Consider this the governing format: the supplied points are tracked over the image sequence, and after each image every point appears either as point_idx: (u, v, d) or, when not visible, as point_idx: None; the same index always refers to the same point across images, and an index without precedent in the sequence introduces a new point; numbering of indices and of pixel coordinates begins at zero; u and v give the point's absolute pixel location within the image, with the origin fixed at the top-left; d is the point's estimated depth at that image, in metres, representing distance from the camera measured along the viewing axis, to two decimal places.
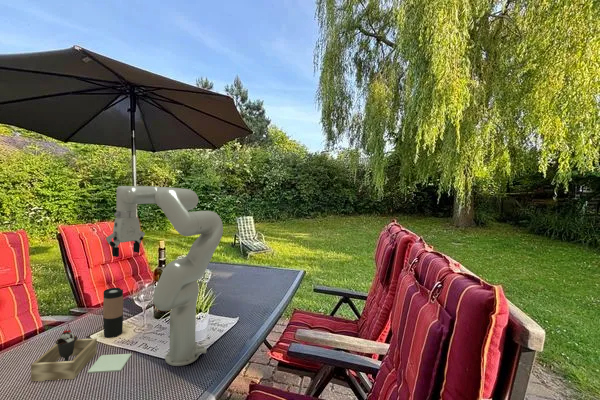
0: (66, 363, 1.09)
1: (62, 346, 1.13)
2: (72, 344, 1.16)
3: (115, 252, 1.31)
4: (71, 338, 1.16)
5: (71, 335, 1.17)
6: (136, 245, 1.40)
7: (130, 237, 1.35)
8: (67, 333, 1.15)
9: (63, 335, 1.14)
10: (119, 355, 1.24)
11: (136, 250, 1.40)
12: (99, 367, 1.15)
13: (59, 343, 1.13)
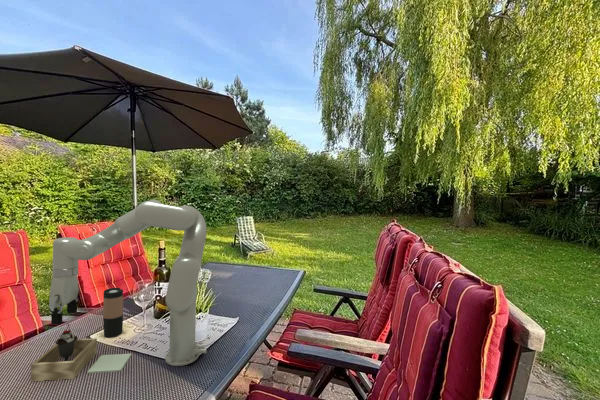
0: (66, 363, 1.09)
1: (62, 346, 1.13)
2: (72, 344, 1.16)
3: None
4: (71, 338, 1.16)
5: (71, 334, 1.17)
6: None
7: None
8: (67, 333, 1.15)
9: (63, 335, 1.14)
10: (119, 355, 1.24)
11: None
12: (99, 367, 1.15)
13: (59, 343, 1.13)
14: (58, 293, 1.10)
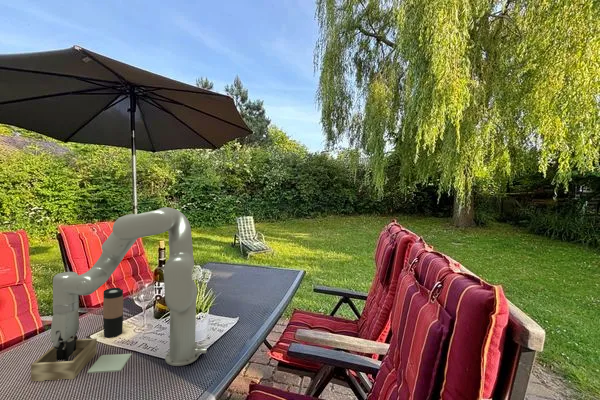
0: (66, 363, 1.09)
1: None
2: (72, 344, 1.16)
3: None
4: (71, 338, 1.16)
5: None
6: None
7: None
8: None
9: None
10: (119, 355, 1.24)
11: None
12: (99, 367, 1.15)
13: None
14: (59, 329, 1.11)
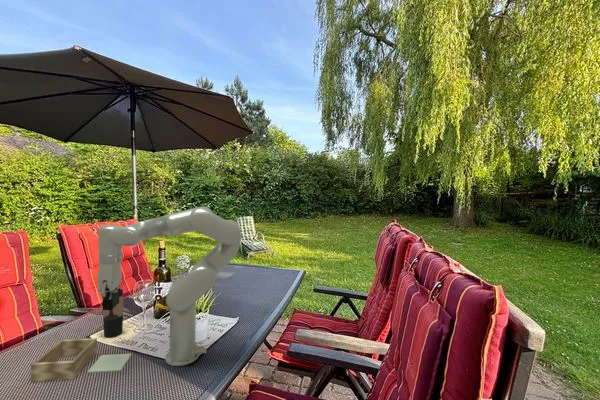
0: (66, 363, 1.09)
1: None
2: (117, 295, 1.17)
3: None
4: (116, 289, 1.17)
5: None
6: None
7: None
8: None
9: None
10: (119, 355, 1.24)
11: None
12: (99, 367, 1.15)
13: None
14: (106, 279, 1.12)
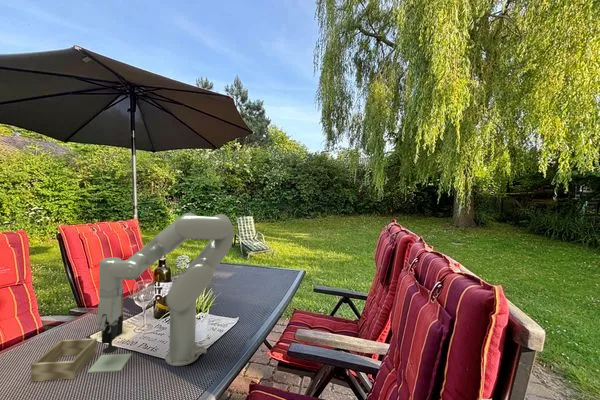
0: (66, 363, 1.09)
1: None
2: (116, 328, 1.18)
3: None
4: (115, 322, 1.18)
5: None
6: None
7: None
8: None
9: None
10: (119, 355, 1.24)
11: None
12: (99, 367, 1.15)
13: None
14: (105, 313, 1.13)
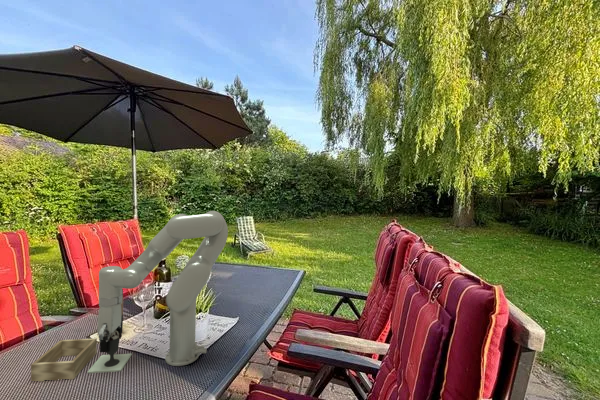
0: (66, 363, 1.09)
1: None
2: (117, 341, 1.17)
3: None
4: (116, 335, 1.17)
5: (116, 332, 1.18)
6: None
7: None
8: None
9: None
10: (119, 355, 1.24)
11: None
12: (99, 367, 1.15)
13: None
14: (106, 322, 1.13)
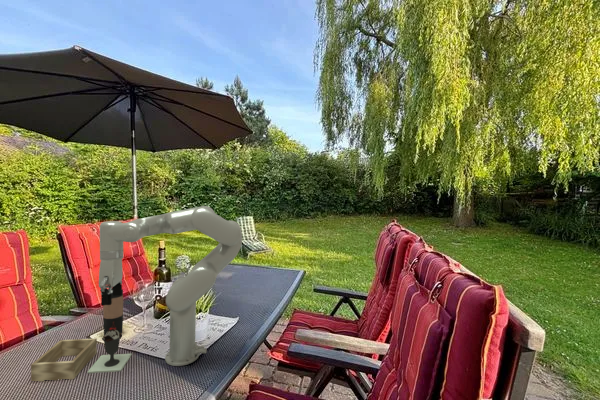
0: (66, 363, 1.09)
1: (109, 343, 1.15)
2: (118, 341, 1.18)
3: None
4: (117, 335, 1.18)
5: (116, 332, 1.19)
6: None
7: None
8: (113, 330, 1.17)
9: (109, 332, 1.16)
10: (119, 355, 1.24)
11: None
12: (99, 367, 1.15)
13: (106, 340, 1.15)
14: (107, 274, 1.13)
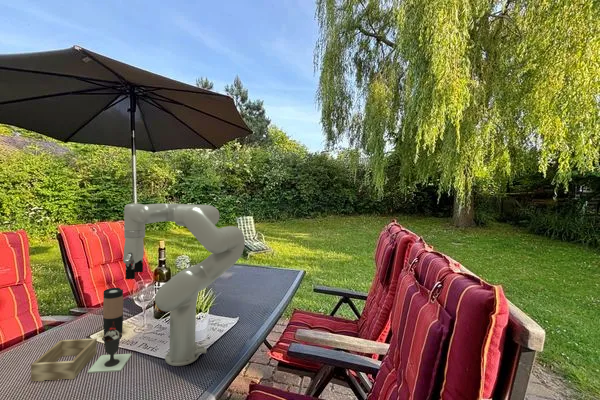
0: (66, 363, 1.09)
1: (109, 343, 1.15)
2: (118, 341, 1.18)
3: None
4: (117, 335, 1.18)
5: (116, 332, 1.19)
6: None
7: None
8: (113, 330, 1.17)
9: (109, 332, 1.16)
10: (119, 355, 1.24)
11: None
12: (99, 367, 1.15)
13: (106, 340, 1.15)
14: (131, 251, 1.24)
